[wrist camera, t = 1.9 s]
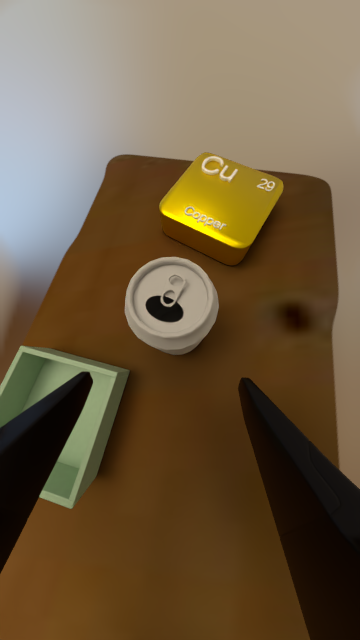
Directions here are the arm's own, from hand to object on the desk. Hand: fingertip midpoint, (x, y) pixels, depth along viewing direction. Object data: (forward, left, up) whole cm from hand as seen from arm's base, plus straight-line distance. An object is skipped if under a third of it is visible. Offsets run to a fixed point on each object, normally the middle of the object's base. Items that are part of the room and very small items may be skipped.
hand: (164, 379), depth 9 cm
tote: (-1, +14, -12) cm, 19 cm away
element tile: (+22, -14, -12) cm, 29 cm away
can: (+5, -2, -12) cm, 13 cm away
